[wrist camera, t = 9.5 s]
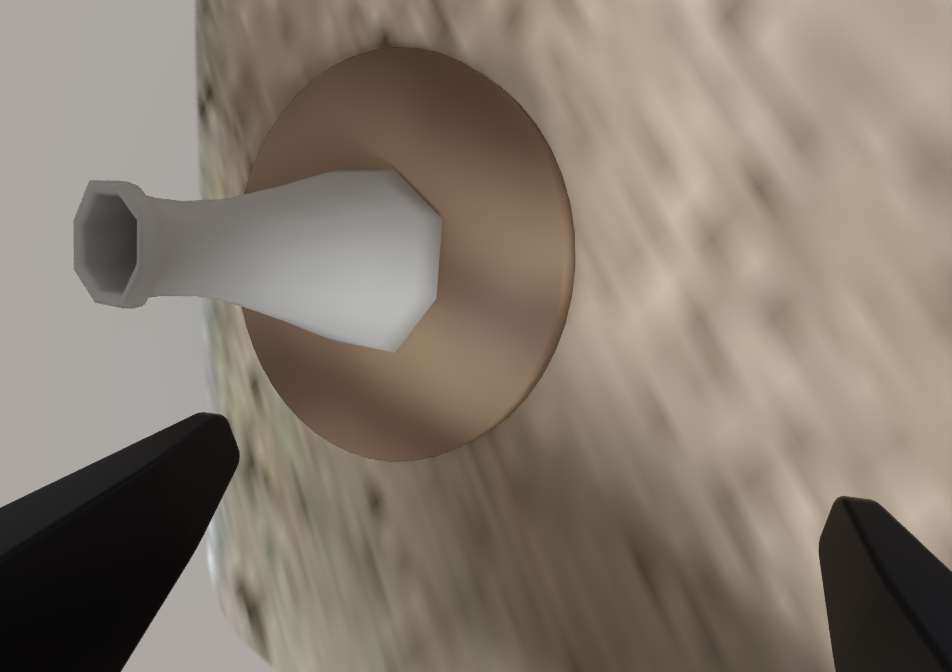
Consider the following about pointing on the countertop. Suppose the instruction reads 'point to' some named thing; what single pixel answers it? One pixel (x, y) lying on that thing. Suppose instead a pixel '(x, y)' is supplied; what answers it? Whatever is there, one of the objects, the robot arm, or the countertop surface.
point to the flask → (272, 252)
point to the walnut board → (461, 254)
